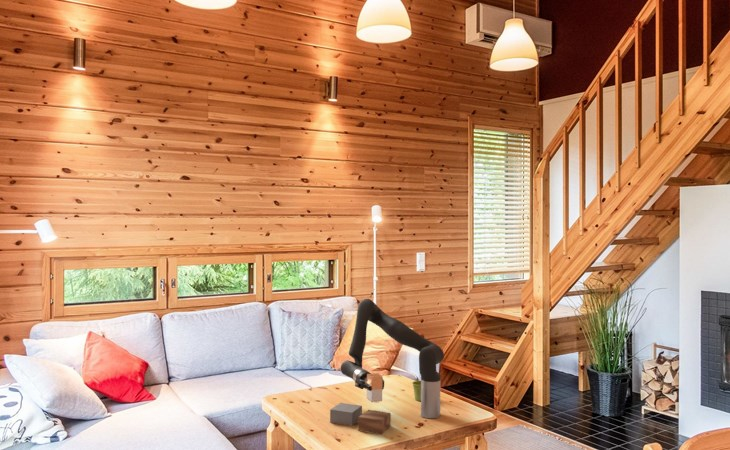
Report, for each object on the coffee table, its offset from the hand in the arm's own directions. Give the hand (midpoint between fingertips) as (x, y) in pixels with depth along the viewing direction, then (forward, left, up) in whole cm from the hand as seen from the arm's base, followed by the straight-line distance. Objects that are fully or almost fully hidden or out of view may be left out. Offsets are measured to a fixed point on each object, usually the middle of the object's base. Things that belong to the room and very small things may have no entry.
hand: (376, 388), depth 263 cm
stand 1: (-6, -18, -19) cm, 26 cm away
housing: (-2, -2, -6) cm, 7 cm away
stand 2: (-2, -2, -19) cm, 19 cm away
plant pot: (-51, +4, -19) cm, 54 cm away
